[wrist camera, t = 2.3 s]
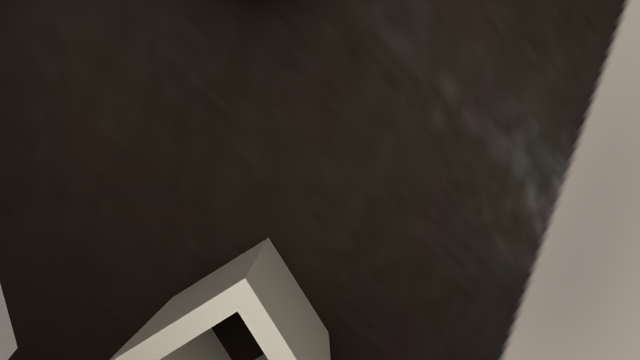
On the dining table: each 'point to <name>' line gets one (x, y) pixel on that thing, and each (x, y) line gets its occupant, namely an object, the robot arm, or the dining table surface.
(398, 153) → the dining table surface
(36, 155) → the dining table surface
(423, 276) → the dining table surface
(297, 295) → the sleeve
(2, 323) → the robot arm
